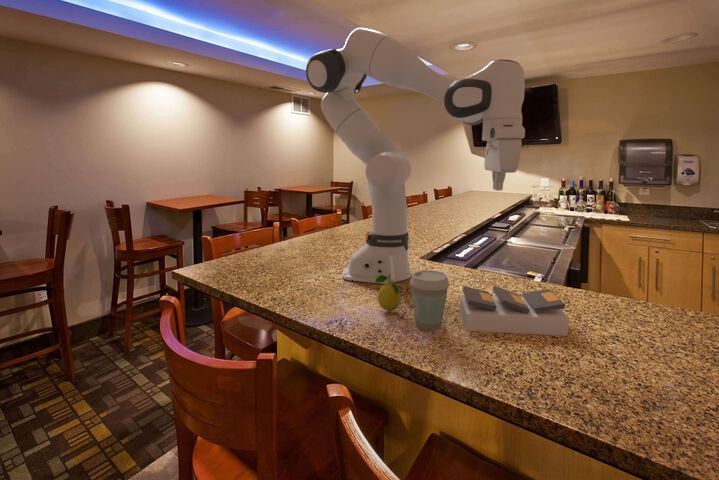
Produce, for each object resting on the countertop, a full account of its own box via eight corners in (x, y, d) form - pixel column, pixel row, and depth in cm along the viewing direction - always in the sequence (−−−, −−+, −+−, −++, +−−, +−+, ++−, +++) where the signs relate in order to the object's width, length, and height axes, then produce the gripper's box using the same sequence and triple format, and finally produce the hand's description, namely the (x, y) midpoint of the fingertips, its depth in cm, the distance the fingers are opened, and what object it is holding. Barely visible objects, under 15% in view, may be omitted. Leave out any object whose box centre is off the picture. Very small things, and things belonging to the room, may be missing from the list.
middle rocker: (501, 303, 80) (503, 299, 79) (492, 289, 89) (494, 285, 88) (528, 313, 79) (530, 309, 79) (516, 298, 88) (518, 294, 88)
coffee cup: (419, 314, 89) (420, 267, 87) (453, 323, 84) (455, 273, 82) (402, 328, 82) (403, 277, 80) (438, 338, 78) (440, 284, 75)
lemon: (375, 307, 94) (374, 269, 92) (397, 306, 95) (398, 268, 92) (378, 318, 88) (378, 278, 85) (402, 316, 88) (403, 277, 86)
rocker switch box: (465, 330, 81) (466, 313, 80) (459, 310, 91) (460, 295, 91) (567, 335, 78) (569, 318, 77) (548, 314, 88) (550, 298, 88)
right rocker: (535, 312, 79) (534, 307, 79) (523, 296, 88) (522, 292, 88) (565, 308, 78) (564, 303, 78) (549, 292, 87) (549, 288, 87)
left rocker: (467, 304, 81) (469, 299, 81) (462, 289, 90) (463, 285, 89) (495, 310, 80) (496, 306, 80) (487, 295, 89) (488, 291, 89)
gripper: (480, 135, 99) (477, 186, 102) (497, 130, 80) (493, 193, 83) (504, 135, 99) (501, 186, 102) (527, 129, 79) (522, 193, 82)
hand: (497, 190), depth 92 cm, fingers closed
